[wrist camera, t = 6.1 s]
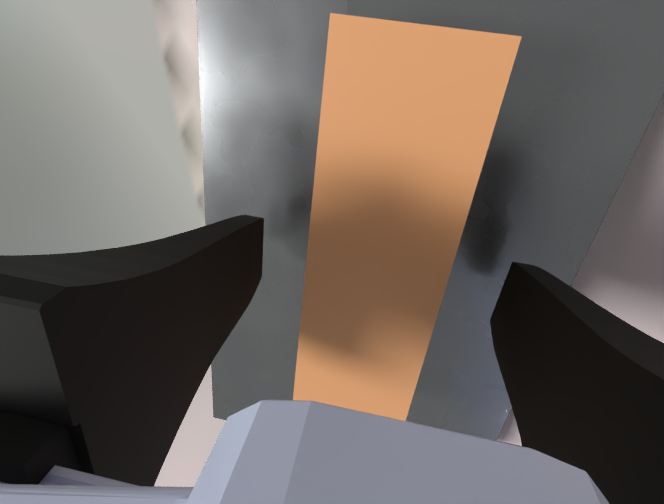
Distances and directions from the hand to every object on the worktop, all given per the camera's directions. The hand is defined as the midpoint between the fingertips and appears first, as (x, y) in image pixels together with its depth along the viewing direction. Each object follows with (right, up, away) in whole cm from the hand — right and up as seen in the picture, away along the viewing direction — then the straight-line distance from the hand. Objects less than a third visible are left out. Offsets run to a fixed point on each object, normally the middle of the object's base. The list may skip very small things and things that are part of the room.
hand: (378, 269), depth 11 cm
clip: (0, +2, +3) cm, 3 cm away
